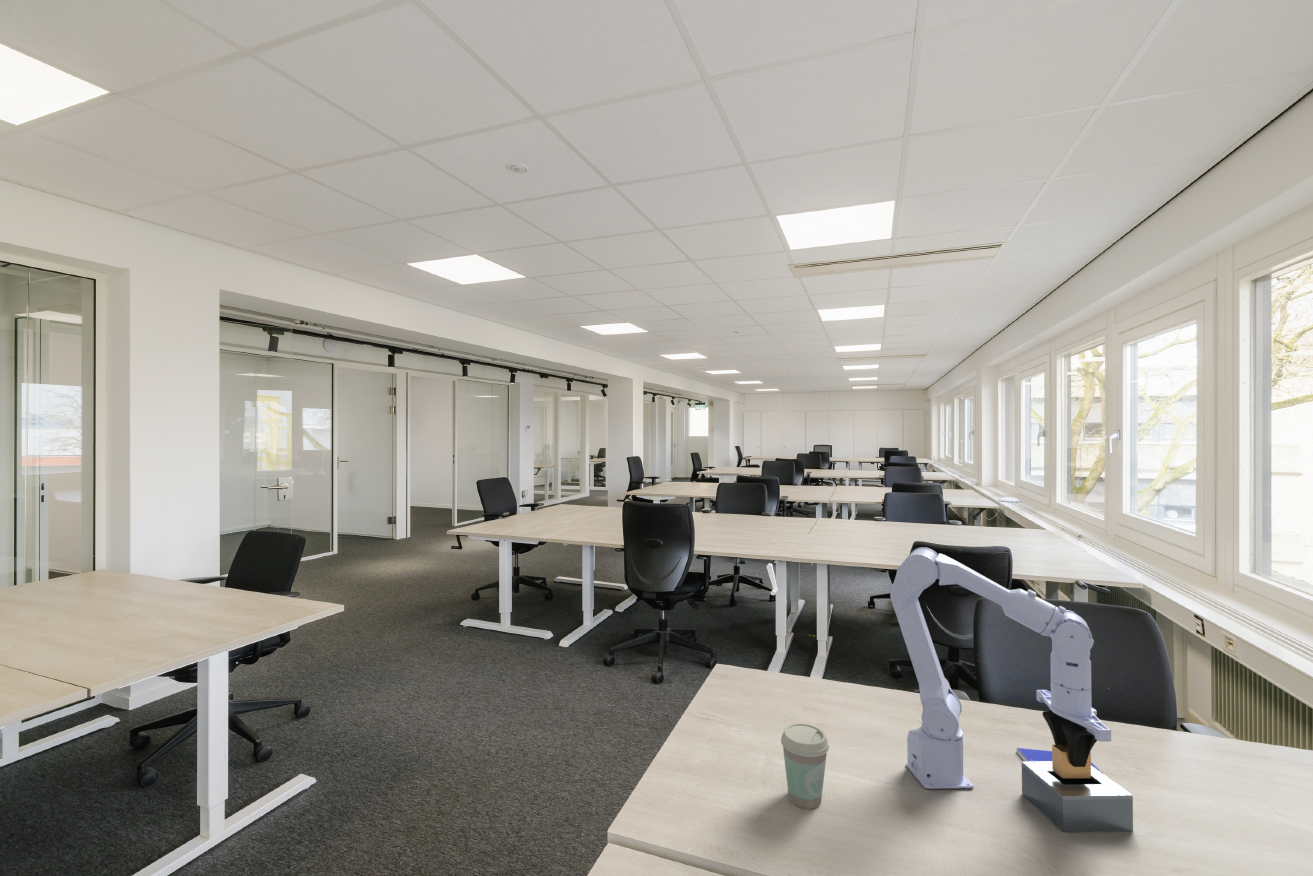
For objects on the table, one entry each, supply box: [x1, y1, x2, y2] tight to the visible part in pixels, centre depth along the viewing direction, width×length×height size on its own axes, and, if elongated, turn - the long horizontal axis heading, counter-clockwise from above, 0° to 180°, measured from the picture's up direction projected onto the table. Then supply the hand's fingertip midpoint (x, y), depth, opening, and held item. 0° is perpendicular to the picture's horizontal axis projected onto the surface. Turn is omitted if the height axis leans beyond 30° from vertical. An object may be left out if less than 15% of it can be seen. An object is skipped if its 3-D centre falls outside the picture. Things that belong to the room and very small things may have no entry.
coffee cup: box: [780, 722, 830, 810], centre depth 100 cm, size 8×8×12 cm
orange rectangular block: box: [1051, 744, 1092, 778], centre depth 96 cm, size 5×2×4 cm, turn 91°
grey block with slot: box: [1021, 760, 1134, 833], centre depth 96 cm, size 12×10×6 cm
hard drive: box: [1016, 747, 1104, 774], centre depth 110 cm, size 2×8×12 cm
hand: (1071, 760), depth 96 cm, fingers closed on orange rectangular block, 2 cm apart
